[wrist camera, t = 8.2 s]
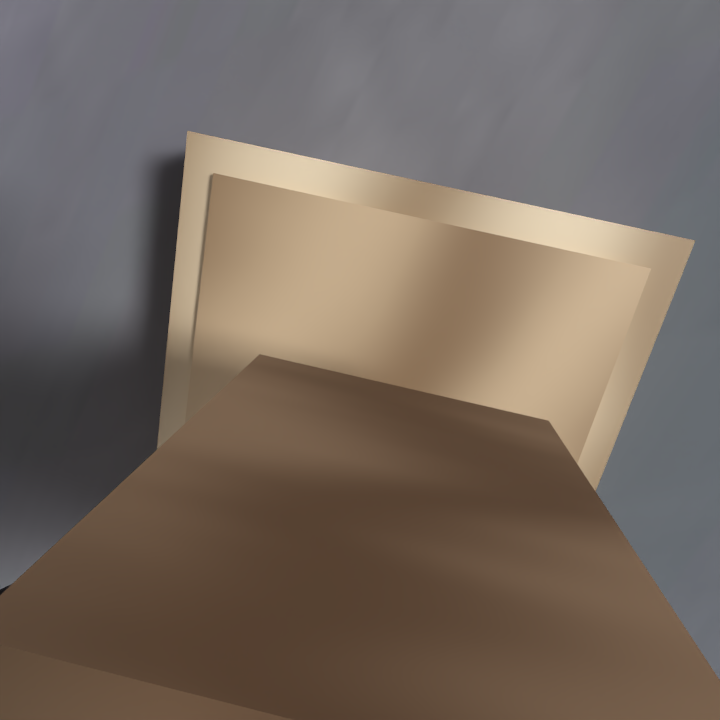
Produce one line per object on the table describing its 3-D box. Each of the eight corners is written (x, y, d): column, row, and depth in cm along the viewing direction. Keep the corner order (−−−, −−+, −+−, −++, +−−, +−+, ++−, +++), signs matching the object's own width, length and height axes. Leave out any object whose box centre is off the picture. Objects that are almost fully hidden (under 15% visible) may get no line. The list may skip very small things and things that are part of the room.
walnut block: (548, 420, 8) (837, 859, 3) (469, 649, 10) (546, 1245, 4) (259, 354, 9) (-41, 633, 3) (223, 588, 10) (-25, 1082, 4)
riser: (646, 235, 14) (700, 241, 11) (517, 585, 17) (535, 650, 15) (224, 144, 14) (183, 129, 12) (182, 504, 18) (143, 554, 15)
